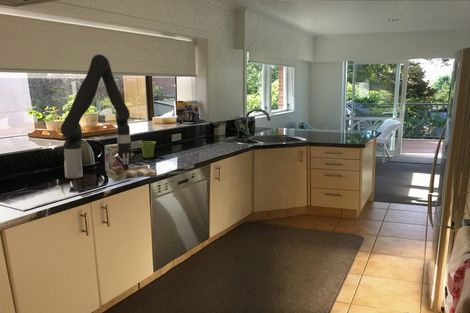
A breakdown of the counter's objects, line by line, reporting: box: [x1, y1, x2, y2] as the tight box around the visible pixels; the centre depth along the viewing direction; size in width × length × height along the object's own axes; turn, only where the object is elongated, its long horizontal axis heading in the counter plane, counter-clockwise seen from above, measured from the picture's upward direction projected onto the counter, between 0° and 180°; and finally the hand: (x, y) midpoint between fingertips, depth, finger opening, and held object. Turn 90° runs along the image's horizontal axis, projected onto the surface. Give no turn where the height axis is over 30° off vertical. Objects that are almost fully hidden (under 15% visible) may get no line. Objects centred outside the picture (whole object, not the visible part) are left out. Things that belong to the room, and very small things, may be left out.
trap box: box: [106, 164, 158, 181], centre depth 243 cm, size 26×14×4 cm, turn 125°
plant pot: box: [139, 140, 157, 159], centre depth 299 cm, size 12×12×11 cm
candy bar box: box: [104, 143, 123, 172], centre depth 255 cm, size 11×5×16 cm, turn 141°
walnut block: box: [111, 166, 124, 174], centre depth 239 cm, size 6×6×4 cm
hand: (125, 170), depth 243 cm, fingers closed
